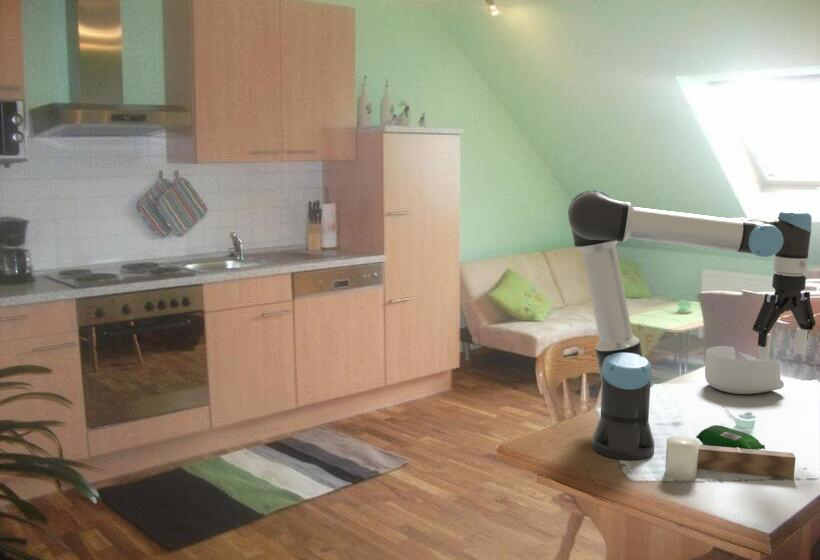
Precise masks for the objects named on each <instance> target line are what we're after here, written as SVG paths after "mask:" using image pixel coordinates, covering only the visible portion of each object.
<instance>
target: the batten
mask: <svg viewBox="0 0 820 560" xmlns="http://www.w3.org/2000/svg"><path fill="white" fill-rule="evenodd" d="M795 467H796V456H795V454H794V453H793V452H788V451H787V452H786V451H775V450H774V451H773V450H766V449H759V450H754V449H742V448H738V447H736V448H731V447H719V446H708V445H703V444H699V449H698V465H697V470H700V469H705V470H704V471H710V470H715V471H714V472H721V471H725V472H724V473H732V472H735V473H734V474H742V475H743V474H745V475H752V476H753V475H757V476H764V477H765V476H767V477H774V478H775V477H776V478H786V479H787V478H788V479H794V478H795V471H796V470H795V469H796V468H795Z"/></svg>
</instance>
